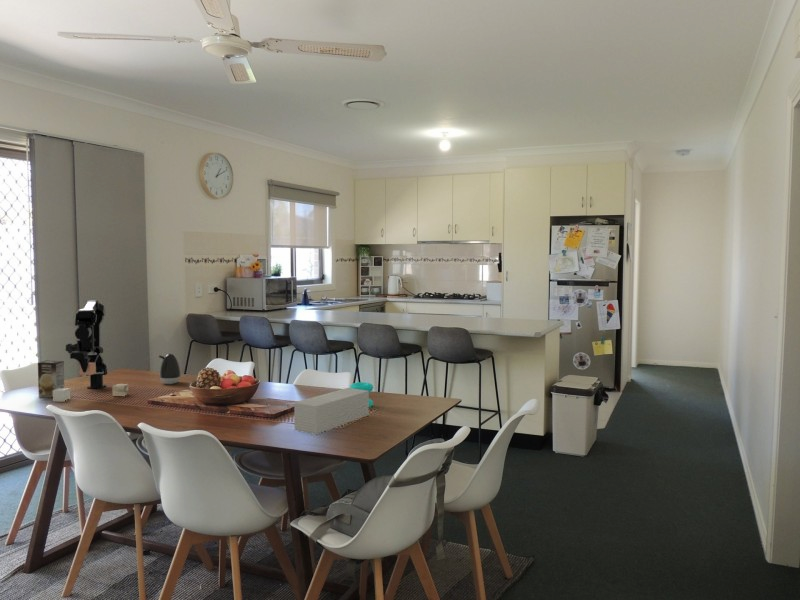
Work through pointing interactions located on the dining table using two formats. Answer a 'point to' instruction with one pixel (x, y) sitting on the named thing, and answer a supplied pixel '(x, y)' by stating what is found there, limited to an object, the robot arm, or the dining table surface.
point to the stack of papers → (330, 410)
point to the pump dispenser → (169, 369)
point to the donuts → (363, 388)
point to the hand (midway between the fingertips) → (87, 371)
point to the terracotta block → (88, 369)
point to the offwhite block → (61, 394)
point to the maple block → (120, 389)
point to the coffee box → (50, 377)
